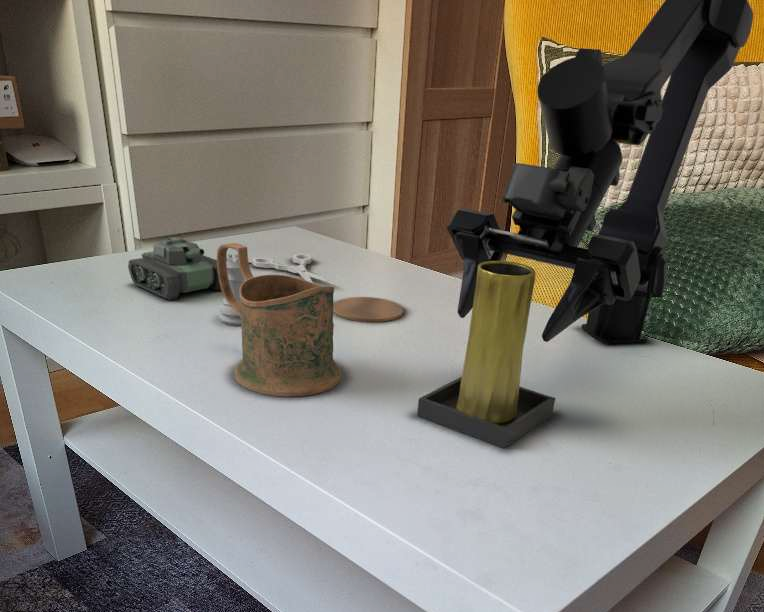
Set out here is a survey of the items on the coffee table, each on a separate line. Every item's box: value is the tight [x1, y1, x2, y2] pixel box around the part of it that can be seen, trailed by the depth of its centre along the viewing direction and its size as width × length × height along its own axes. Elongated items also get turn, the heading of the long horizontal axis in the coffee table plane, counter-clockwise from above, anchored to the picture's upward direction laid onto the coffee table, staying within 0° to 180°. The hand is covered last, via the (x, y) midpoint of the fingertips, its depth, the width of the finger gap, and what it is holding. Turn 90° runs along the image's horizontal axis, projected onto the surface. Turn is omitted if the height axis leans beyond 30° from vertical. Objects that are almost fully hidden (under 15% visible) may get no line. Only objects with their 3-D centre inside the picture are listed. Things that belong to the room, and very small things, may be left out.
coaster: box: [333, 296, 404, 323], centre depth 101 cm, size 10×10×1 cm
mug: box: [216, 242, 342, 397], centre depth 79 cm, size 12×18×12 cm, turn 44°
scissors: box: [248, 253, 340, 287], centre depth 113 cm, size 11×1×20 cm
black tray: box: [416, 376, 556, 449], centre depth 74 cm, size 10×10×2 cm
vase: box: [456, 260, 536, 424], centre depth 70 cm, size 6×6×14 cm
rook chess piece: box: [219, 253, 246, 326], centre depth 92 cm, size 4×4×8 cm
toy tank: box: [127, 236, 222, 301], centre depth 103 cm, size 10×12×7 cm
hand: (500, 327), depth 70 cm, fingers open, 9 cm apart
